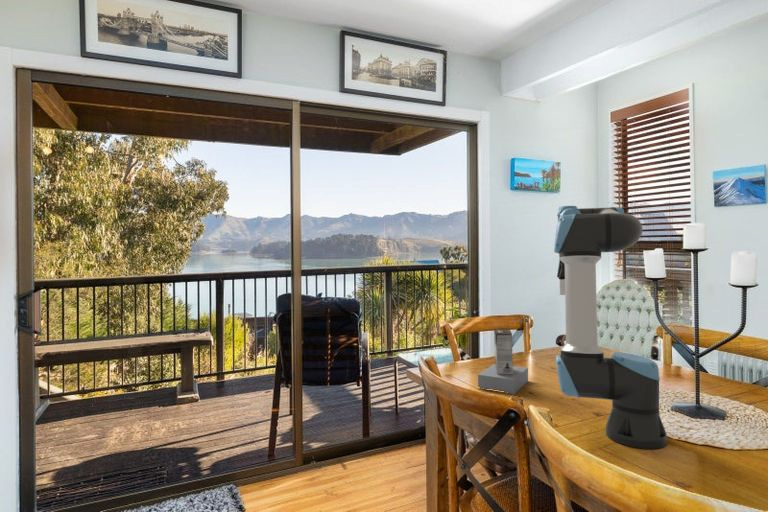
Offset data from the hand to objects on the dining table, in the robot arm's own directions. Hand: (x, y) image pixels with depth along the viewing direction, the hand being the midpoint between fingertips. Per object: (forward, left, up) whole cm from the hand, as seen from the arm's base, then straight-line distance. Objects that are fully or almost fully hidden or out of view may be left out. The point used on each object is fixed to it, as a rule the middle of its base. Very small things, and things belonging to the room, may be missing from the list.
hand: (568, 296), depth 182 cm
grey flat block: (-5, +27, -35) cm, 45 cm away
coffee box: (-6, +27, -29) cm, 40 cm away
